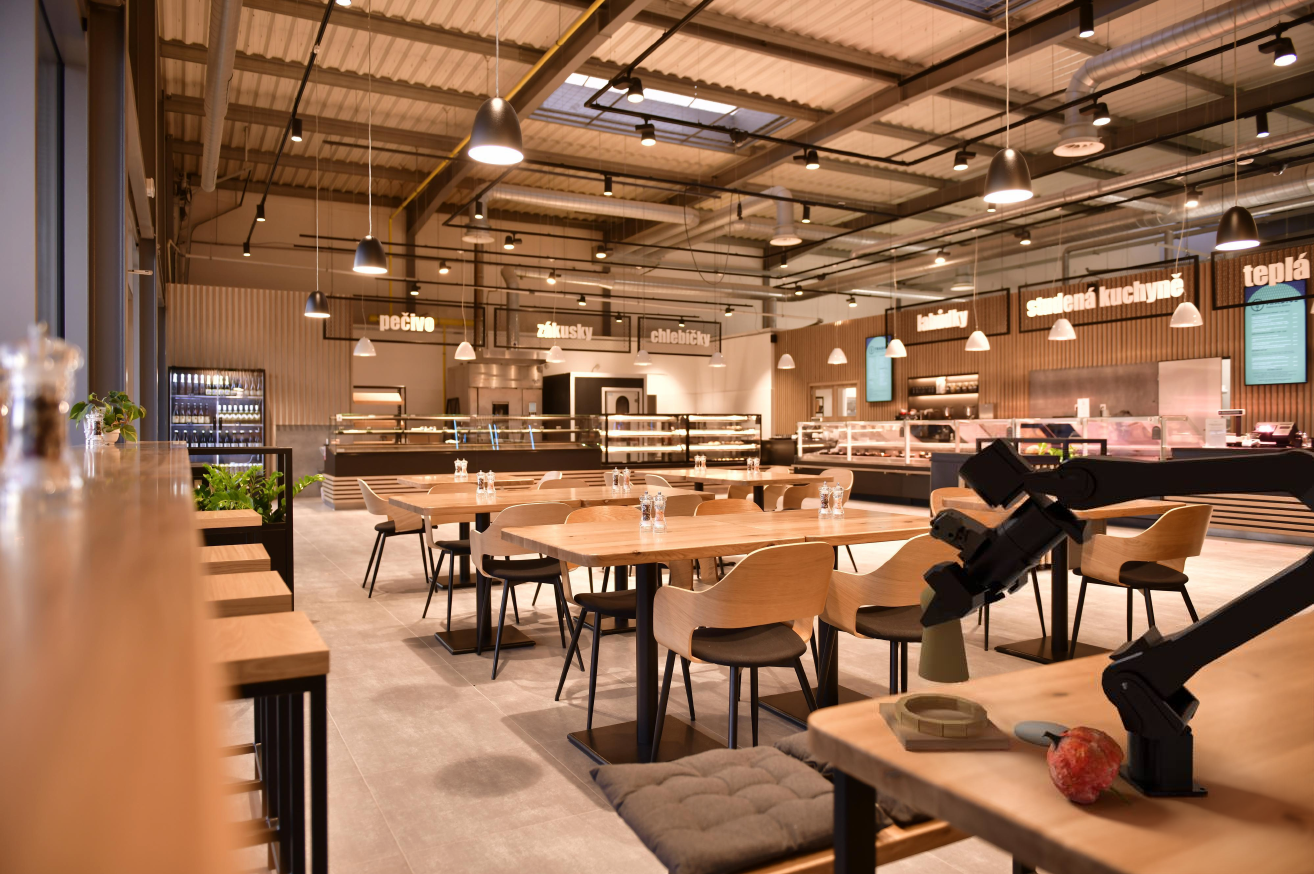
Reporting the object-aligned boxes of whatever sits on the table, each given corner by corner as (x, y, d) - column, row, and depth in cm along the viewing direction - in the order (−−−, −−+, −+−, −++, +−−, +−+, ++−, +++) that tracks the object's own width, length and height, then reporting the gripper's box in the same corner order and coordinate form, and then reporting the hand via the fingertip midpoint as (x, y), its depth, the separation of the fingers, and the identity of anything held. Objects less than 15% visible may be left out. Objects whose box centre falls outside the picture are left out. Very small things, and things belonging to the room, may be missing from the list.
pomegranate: (1110, 805, 88) (1027, 735, 91) (1160, 763, 85) (1073, 692, 88) (1103, 844, 82) (1015, 768, 85) (1157, 800, 78) (1064, 722, 82)
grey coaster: (1089, 746, 97) (1089, 743, 97) (1029, 746, 98) (1029, 743, 98) (1061, 723, 104) (1061, 720, 104) (1004, 724, 105) (1004, 720, 104)
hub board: (1009, 748, 97) (1009, 725, 97) (905, 749, 97) (905, 726, 97) (971, 711, 109) (971, 690, 109) (879, 712, 109) (879, 691, 109)
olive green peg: (942, 664, 108) (940, 579, 107) (980, 677, 102) (978, 587, 102) (907, 672, 105) (905, 585, 104) (944, 686, 99) (942, 594, 99)
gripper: (1001, 481, 107) (920, 559, 115) (939, 494, 93) (852, 581, 101) (1067, 548, 102) (978, 625, 110) (1012, 572, 88) (915, 658, 96)
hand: (931, 620), depth 104 cm, fingers closed on olive green peg, 5 cm apart
